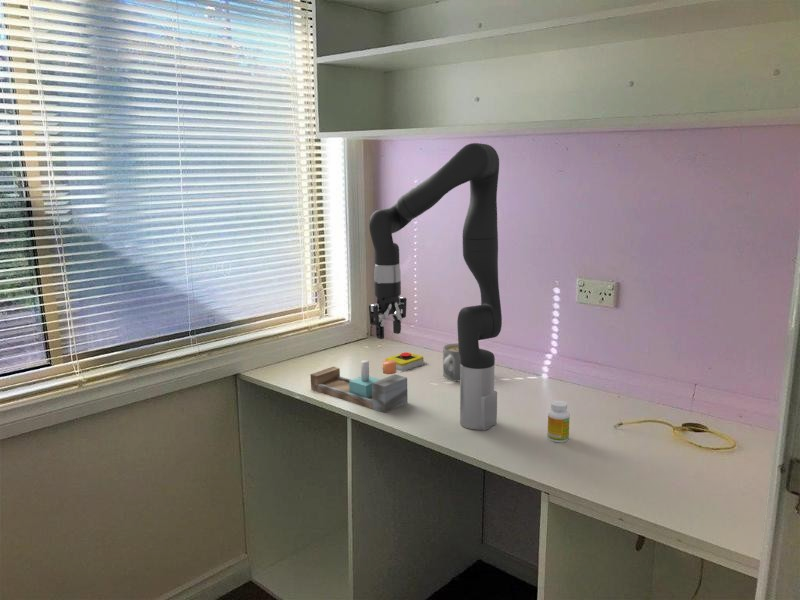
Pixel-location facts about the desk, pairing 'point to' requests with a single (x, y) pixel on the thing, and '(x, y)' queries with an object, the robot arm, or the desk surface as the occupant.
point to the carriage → (363, 382)
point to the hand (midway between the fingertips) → (388, 335)
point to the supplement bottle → (558, 422)
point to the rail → (383, 397)
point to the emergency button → (406, 361)
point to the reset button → (389, 367)
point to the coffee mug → (451, 362)
